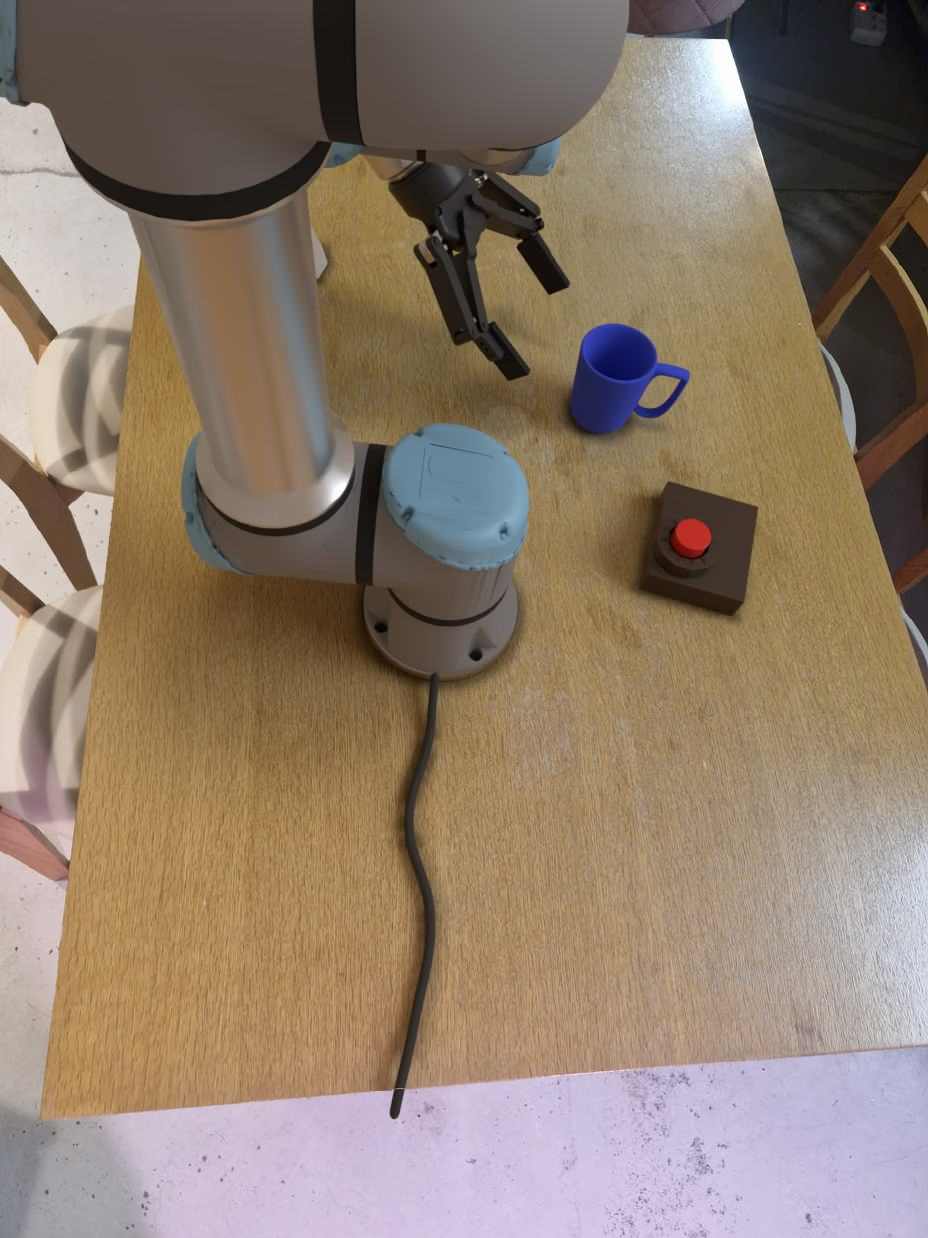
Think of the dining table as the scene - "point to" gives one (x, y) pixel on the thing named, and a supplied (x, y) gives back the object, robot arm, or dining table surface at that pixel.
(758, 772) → the dining table surface
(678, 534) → the power button
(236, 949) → the dining table surface
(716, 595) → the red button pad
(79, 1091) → the dining table surface
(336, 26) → the robot arm
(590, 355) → the mug
